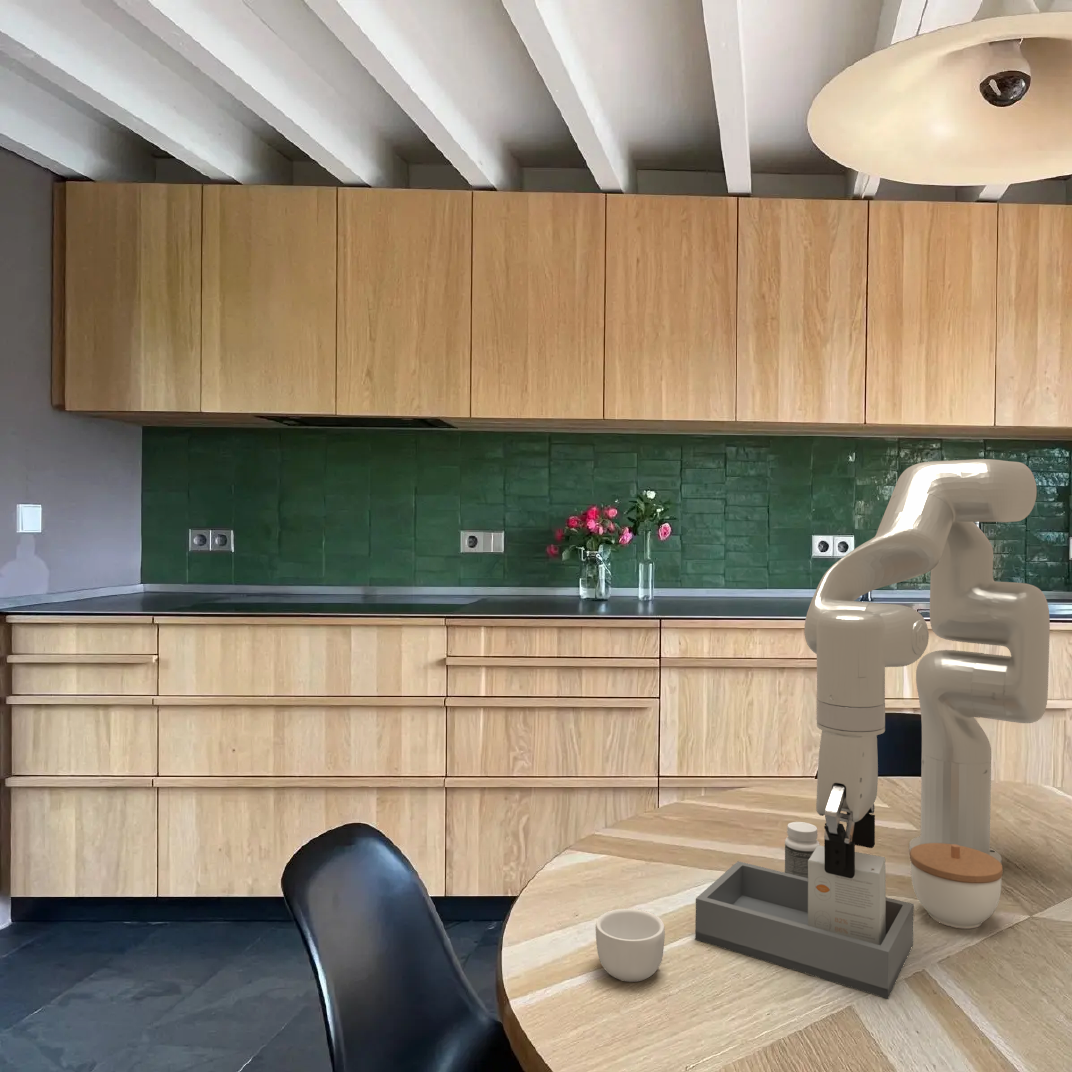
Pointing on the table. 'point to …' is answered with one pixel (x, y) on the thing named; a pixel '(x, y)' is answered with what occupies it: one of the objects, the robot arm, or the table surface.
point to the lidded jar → (956, 883)
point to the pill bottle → (799, 847)
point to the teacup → (630, 943)
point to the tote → (798, 930)
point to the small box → (848, 898)
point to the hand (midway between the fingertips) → (850, 859)
